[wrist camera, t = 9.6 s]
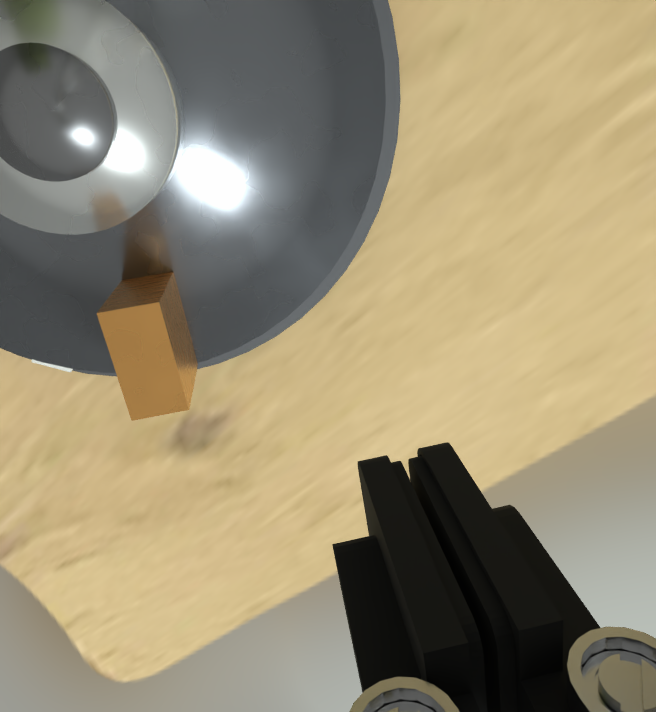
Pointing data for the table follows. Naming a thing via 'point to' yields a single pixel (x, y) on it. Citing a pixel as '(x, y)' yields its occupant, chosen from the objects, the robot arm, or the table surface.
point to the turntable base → (371, 208)
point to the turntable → (214, 199)
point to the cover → (82, 116)
